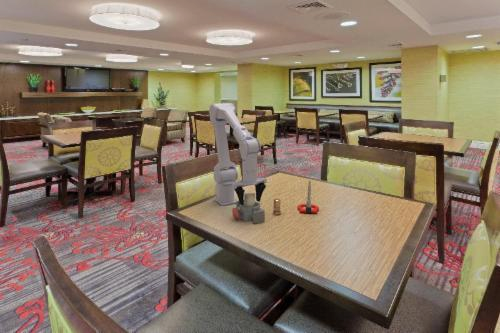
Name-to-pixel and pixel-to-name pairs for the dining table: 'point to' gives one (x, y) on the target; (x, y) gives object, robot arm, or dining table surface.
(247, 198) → the cylinder
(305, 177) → the dining table surface
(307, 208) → the tow hook
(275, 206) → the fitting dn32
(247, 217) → the valve
